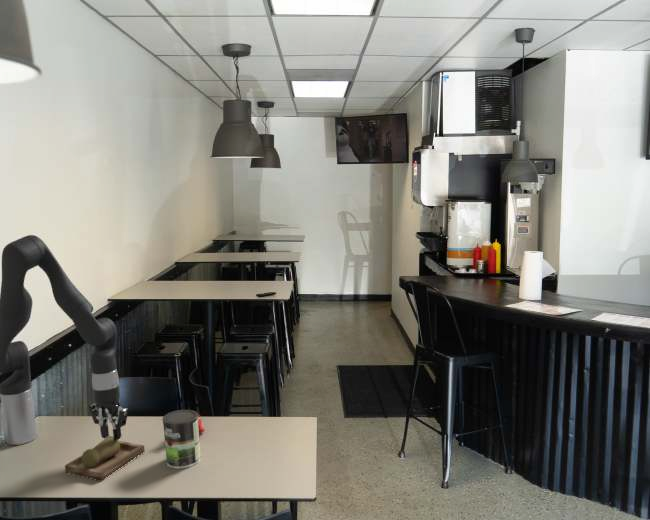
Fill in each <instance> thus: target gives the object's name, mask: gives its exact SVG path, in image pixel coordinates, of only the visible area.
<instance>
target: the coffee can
mask: <svg viewBox="0 0 650 520" xmlns="http://www.w3.org/2000/svg"><path fill="white" fill-rule="evenodd" d="M198 415H199V414H198V412H197V411H195V410H192V409H178V410H173V411H170V412H168V413H166V414H165V415H164V416H163V417H162V419H161V421H162V425H163V433H164V447H165V458H166V462H165V463H166V465H167V467H169V468H171V469H175V470H176V469H177V470H179V469H187V468H191V467H193V466H195V465H197V464H198V463H199V462H201V459H202V458H201V457H202V455H201V446H200V445H201V444H200V435H199V429H198V420H199V419H198V418H199V416H198Z"/></svg>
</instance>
